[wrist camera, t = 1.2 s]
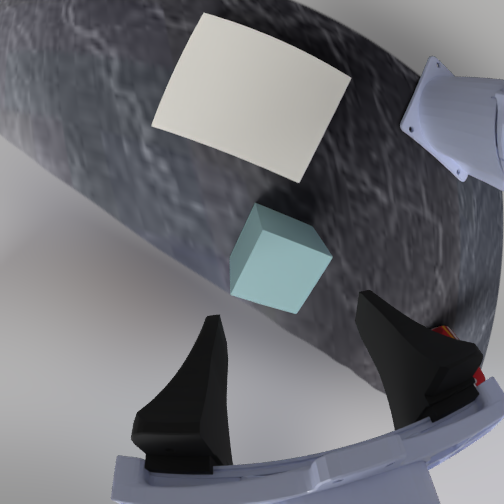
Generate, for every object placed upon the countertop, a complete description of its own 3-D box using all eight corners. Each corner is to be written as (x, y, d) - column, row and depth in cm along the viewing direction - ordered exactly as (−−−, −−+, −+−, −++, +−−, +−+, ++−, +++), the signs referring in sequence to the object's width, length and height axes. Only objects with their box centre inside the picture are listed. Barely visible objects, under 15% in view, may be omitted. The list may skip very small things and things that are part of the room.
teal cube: (312, 226, 22) (332, 257, 18) (284, 275, 24) (296, 314, 20) (255, 202, 21) (262, 229, 16) (229, 257, 23) (230, 294, 18)
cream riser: (337, 80, 17) (351, 78, 14) (291, 174, 20) (298, 183, 18) (206, 24, 14) (203, 12, 12) (160, 123, 17) (151, 126, 15)
